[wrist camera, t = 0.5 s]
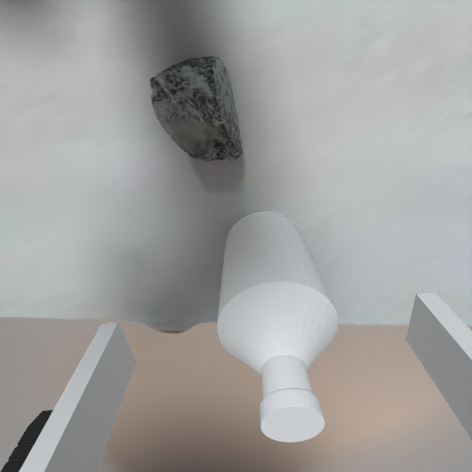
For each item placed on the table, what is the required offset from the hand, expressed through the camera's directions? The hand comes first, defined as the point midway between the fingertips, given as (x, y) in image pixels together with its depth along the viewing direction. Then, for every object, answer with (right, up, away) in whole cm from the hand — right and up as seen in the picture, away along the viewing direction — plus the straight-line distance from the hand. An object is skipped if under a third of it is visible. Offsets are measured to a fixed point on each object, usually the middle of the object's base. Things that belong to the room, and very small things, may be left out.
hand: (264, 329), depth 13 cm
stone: (-5, +19, +21) cm, 29 cm away
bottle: (+3, +3, +29) cm, 30 cm away
